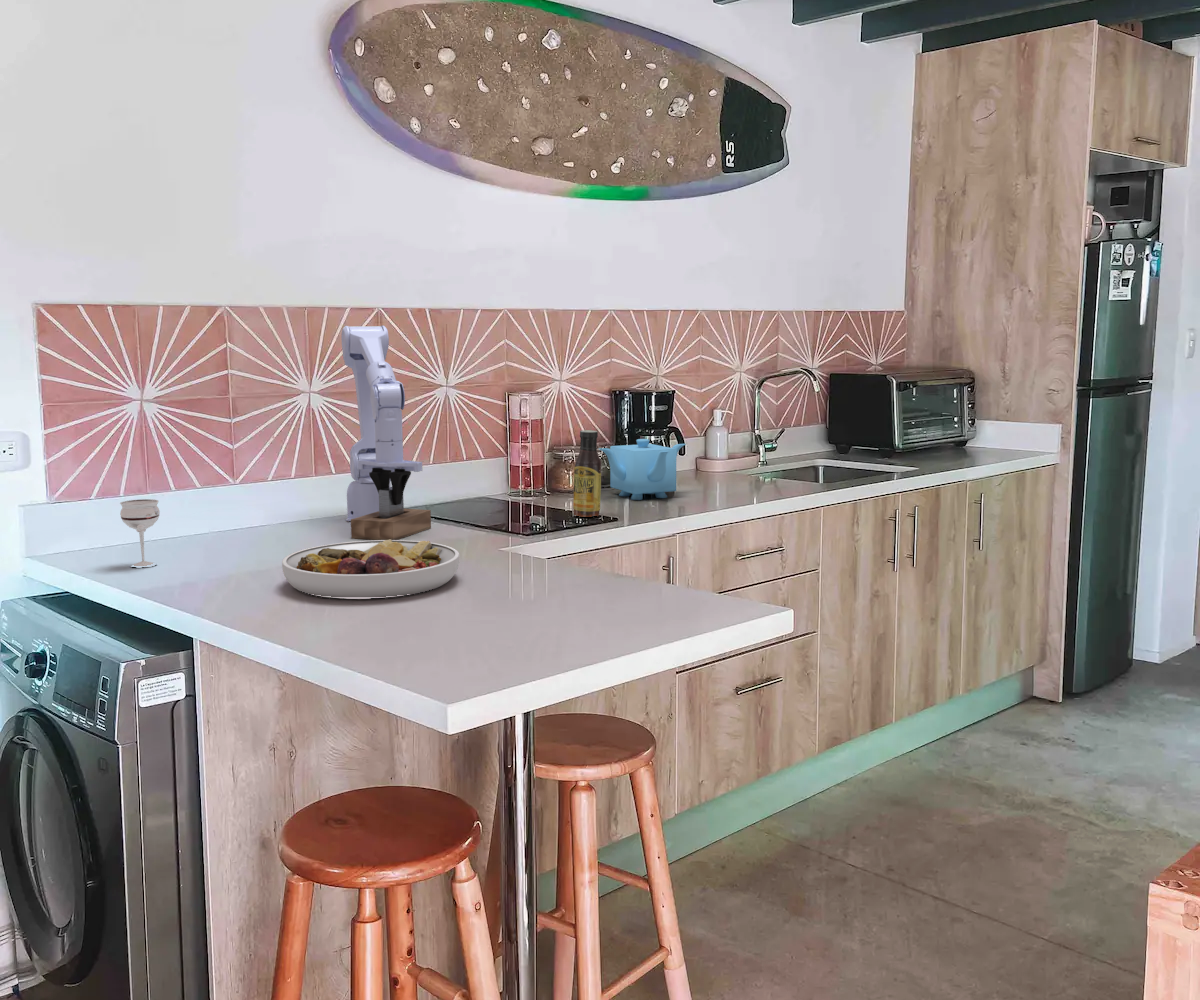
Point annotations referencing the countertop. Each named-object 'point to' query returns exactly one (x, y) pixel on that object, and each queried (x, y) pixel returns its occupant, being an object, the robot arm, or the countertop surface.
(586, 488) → the sauce bottle
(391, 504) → the gray rectangular block
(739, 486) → the countertop surface
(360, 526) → the wooden slotted block
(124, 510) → the wineglass
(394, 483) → the robot arm
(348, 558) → the bowl
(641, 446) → the teakettle
